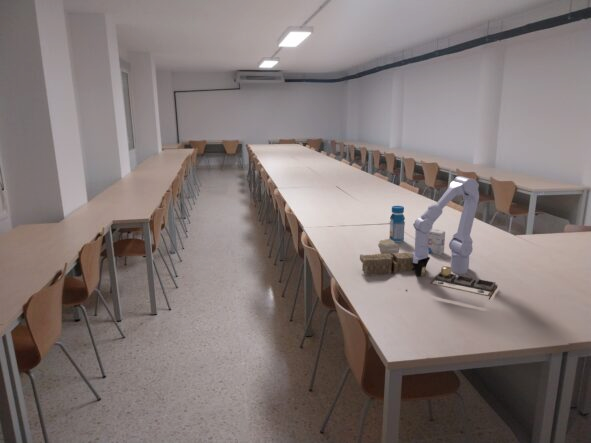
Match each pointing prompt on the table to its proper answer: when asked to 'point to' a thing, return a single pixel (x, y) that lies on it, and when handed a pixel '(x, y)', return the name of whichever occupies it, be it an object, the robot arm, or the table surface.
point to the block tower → (386, 263)
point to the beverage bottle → (397, 224)
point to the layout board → (466, 284)
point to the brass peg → (423, 271)
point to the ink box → (436, 241)
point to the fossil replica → (388, 247)
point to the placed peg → (446, 272)
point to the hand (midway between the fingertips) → (419, 273)
